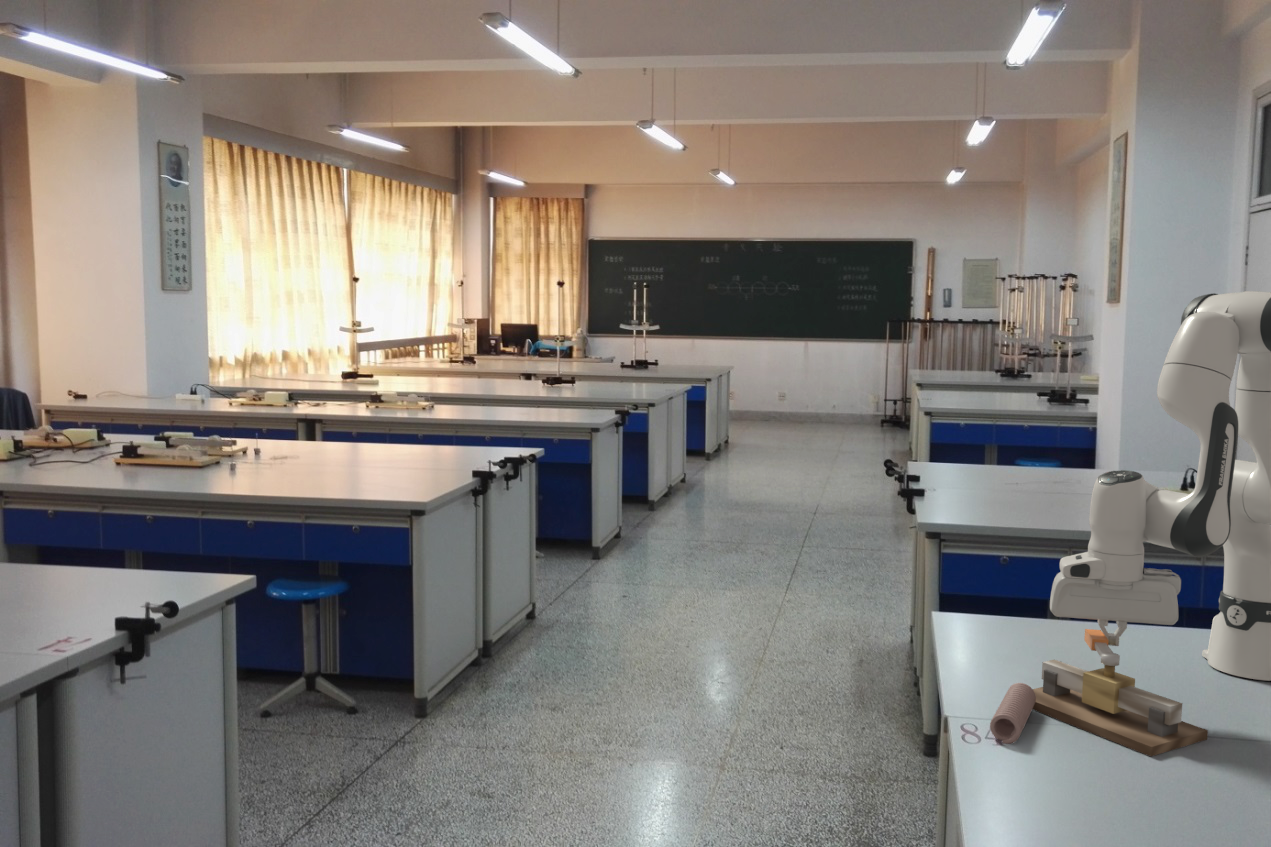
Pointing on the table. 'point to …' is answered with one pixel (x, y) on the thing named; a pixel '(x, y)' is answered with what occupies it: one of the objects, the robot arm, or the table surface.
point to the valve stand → (1114, 708)
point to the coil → (1013, 713)
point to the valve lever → (1101, 647)
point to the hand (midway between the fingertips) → (1110, 644)
